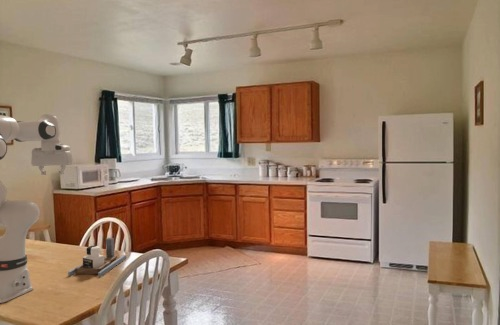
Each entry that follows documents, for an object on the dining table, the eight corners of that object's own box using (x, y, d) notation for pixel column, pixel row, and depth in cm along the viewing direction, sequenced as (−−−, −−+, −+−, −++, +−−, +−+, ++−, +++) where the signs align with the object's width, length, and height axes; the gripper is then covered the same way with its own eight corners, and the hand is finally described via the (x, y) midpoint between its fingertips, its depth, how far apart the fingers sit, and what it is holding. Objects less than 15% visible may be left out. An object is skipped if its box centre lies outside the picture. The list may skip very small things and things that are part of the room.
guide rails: (100, 276, 185) (100, 272, 184) (68, 276, 186) (68, 271, 186) (126, 258, 213) (126, 254, 213) (98, 257, 215) (98, 254, 215)
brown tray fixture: (99, 274, 188) (98, 251, 187) (75, 273, 189) (74, 250, 188) (122, 257, 213) (122, 238, 212) (101, 257, 214) (100, 237, 214)
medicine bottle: (82, 271, 193) (82, 247, 192) (94, 267, 199) (93, 244, 198) (92, 273, 190) (92, 249, 189) (104, 269, 196) (103, 245, 195)
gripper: (27, 148, 195) (29, 175, 196) (66, 146, 193) (67, 174, 194) (35, 148, 202) (37, 174, 202) (73, 146, 200) (74, 173, 200)
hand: (52, 174), depth 198 cm, fingers open, 8 cm apart
